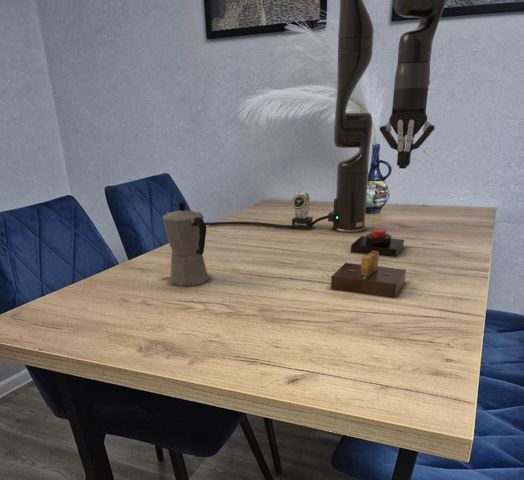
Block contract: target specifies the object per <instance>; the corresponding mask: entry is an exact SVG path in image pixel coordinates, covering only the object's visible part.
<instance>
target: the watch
mask: <svg viewBox="0 0 524 480" xmlns="http://www.w3.org/2000/svg"><path fill="white" fill-rule="evenodd" d="M309 194H310V193H308V192H301V191H300V192H298V193H297V194H296V195H295V196H294V197H293V198H292V200H291V205H292V210H293V212H294V215H295V216H294V217H293V218H292V219H291V225H292V226H294V227H295V228H291V229H292V230H305V231H308V230H310V229H312V228H313V226H311V227H310V224H311V223H312V222H313V221H314V220H313V219H314V218H313V216H308V215H309V212H310V204H311V203H310V195H309Z"/></svg>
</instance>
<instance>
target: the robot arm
mask: <svg viewBox="0 0 524 480" xmlns="http://www.w3.org/2000/svg"><path fill="white" fill-rule="evenodd" d="M391 1H392V5H393V9H394V12H395V13H396V14H398V16H400V17H402V18H417V19H418V18H419V23H418V25H417V27H416V29H413V30H408V31H405V32H404V33H402V34H401V36H400V38H399V42H398V51H397V52H398V53H397V64H396V69H395V76H394V82H393V83H394V84H393V96H392V106H391V107H392V108H391V115H390V116H389V119H388V121H387V122H386V123H385V124H383V125H382V126H380V127H379V131H380V133H381V135H382V136H383V138H384V139H385V141H386V142H387V144H388V145H389V147H390V148H391V149H393V150H395V151H397V159H396V160H397V161H396V166H397V167H398V169H402V170H403V169H404V170H405V169H407V167H408V166H410V163H411V157H412V152H413V151H414V150H417V149H420V147H421V146H422V145H423V144H424V143H425V141H426V140H427V139H428V138H429V136H431V135H432V133H433V132H434V131H435V129H436V125H434V124H432V123H431V122H429V121H428V115H427V104H428V95H429V86H430V83H431V80H430V79H431V58H432V51H433V42H434V38H435V35H436V32H437V29H438V26H439V22H440V20H441V17H442V15H443V12H444V9H445V5H446V2H447V0H391ZM337 39H338V40H337V83H336V84H337V85H336V100H335V112H334V122H333V123H334V126H333V142H334V146H335V147H336V148H338V149H339V148H340V149H356V148H358V151H357V152H356V153H355V154H354V155H352V156H351V157H349V158H346V159H344V160H343V159H342V160H341V161H339V162H338V163H337V169H336V171H337V173H336V174H337V175H336V195H335V197H336V198H334V199H333V210H332V211H330V212H329V213H328V214H327V215H323V216H321V217H318V218H316V219H314V220H313V222H312V223H311V224H310V227H311V226H312V227H313V226H314V225H315V224H317V223H318V222H320V221H323V220H326V219H327V222H332V230H333V231H337V232H341V233H358V232H363V231H364V230H365V227H366V225H365V224H366V212H367V211H366V209H367V197H368V196H367V195H368V182H369V167H370V166H369V165H370V151H371V144H372V143H371V142H372V135H373V134H372V133H373V116H372V114H371V113H370V112H347V107H348V105H349V101H350V99H351V97H352V95H353V93H354V91H355V89H356V87H357V86H358V84H359V82H360V80H361V79H362V77H363V75H364V74H365V72H366V71H367V69H368V67H369V66H370V63H371V61H372V58H373V49H374V48H373V47H374V25H373V22H372V19H371V16H370V14H369V11H368V9H367V7H366V5H365V3H364V0H339V21H338V37H337ZM392 129H393V131H394V132H395V134H396V135H397V140H396V139H395V138H394V135H393V134H392ZM421 129H422V134H420V137H419V138H418V139H417V140H416V141H415V142H414V140H415V137H416V135H417V134H418V133H419V132H420V130H421ZM204 223H205V225H206V226H220V225H222V226H223V225H248V226H249V225H250V226H251V225H253V226H263V227H265V226H266V227H274V228H282V229H292V228H295V227H294V226H292V224H279V223H269V222H258V221H213V222H204Z"/></svg>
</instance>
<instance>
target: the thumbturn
mask: <svg viewBox="0 0 524 480" xmlns="http://www.w3.org/2000/svg"><path fill="white" fill-rule="evenodd" d="M379 257H380V256H379V252H378V251H371V253H369V254H364V255H363V256H362V257H361V263H360V265H361V275H364V276H368V275H370V274H372V273H373V272H375V271H377V270H378V267H379Z"/></svg>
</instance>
